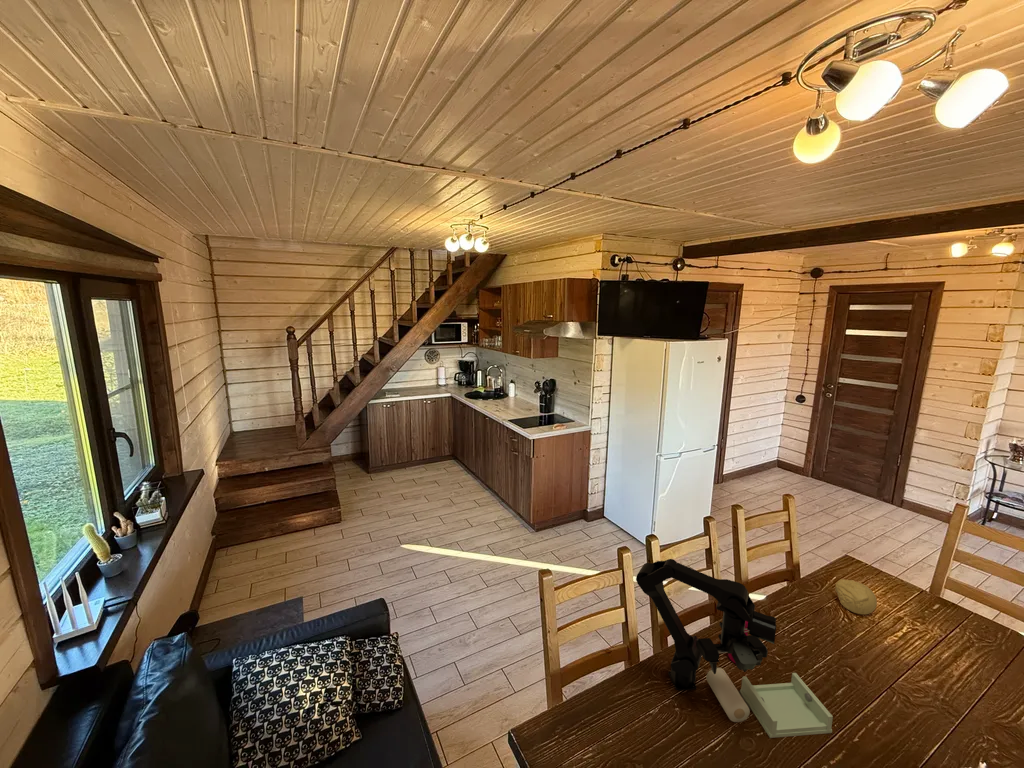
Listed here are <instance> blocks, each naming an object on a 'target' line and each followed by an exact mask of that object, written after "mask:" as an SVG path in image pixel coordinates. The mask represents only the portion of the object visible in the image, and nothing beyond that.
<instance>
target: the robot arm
mask: <svg viewBox="0 0 1024 768" xmlns="http://www.w3.org/2000/svg"><path fill="white" fill-rule="evenodd" d="M671 578H672V579H674V580H676V581H679V582H680V583H682V584H685V585H687V586H690V587H691V588H694V589H696V590H698V591H701V592H703V593H705V594H707V595H710V596H711V597H713V598H714V599H715V601H717V604H716V607H715V609H716V610H718V611H719V612H722V615H723V616H722V622H721V621H720V622H719V627H720V628H721V634H720V633H719V634H718V639H719V640H720V643H714V642H713V640H712V639H711V637H705V638H699V637H698V636H697V635H691V634H690V633H688V631H687V630H686V628H685V627H684V624H683V623H682V621H681V619H680V617H679V615H678V613H677V611H676V610H675V608H674V606H673V604H672V602H671V600H670V598H669V596H668V595H667V593H666V591H665V585H664V582H665V581H666V580H668V579H671ZM635 581H636V583H637V585H638V586H639V589H641V591H642V592H643V593H644V594H645V595H647V596H648V597H649V598H651V600H652V602H653V603H654V606H655V608H656V609H657V612H658V613H659V615H660V618H661V619H662V621H663V623H664V624H665V627H666V629H667V630H668V631H669V634H670V636H671V637H672V639H673V643H674V648H675V649H674V651H675V652H674V654H673V657H672V660H671V662H670V671H668V674H667V675H668V676H669V678H670V680H671V682H672V684H673V686H674V688H675V690H676V691H690V690H697V685H696V679H697V670H698V668H699V666H700V662H701V660H702V657H703V659H704V661H706V662H708V663H709V666H710V670H712V671H713V673H714V674H716V669H717V668H718V665H717V664H718V663H720V660H719V659H720V654H726V653H727V655H728V654H731V655H732V657H733V659H734V661H735V663H736V664H735V663H734V664H735V666H736V668H737V669H738V670H740V671H743V672H744V673H747V671H748V670H753V669H754V668H755V667H756V666H761V663H762V661H763V658H764V659H765V658H767V656H768V653H769V652H768V648H767V646H766V645H765V644H764V643H763V641H766V642H768V643H771V644H773V645H775V642H776V641H775V640H776V631H777V617H774V616H771V615H768V614H764V613H762V612H759V611H755V610H756V604H755V603H754V601H753V600H752V598H751V597H750V596H749V595H750V594H749V591H748V589H747V588H746V586H745V585H744V584H742V583H741V582H737V581H734V580H730V579H726V578H723V579H722V578H721V579H719V578H715V577H713V576H710V575H707V574H706V573H703V572H701V571H698V570H696V569H694V568H691V567H689V566H688V565H684V564H682V563H679V562H677V561H676V560H675V559H674V558H668V559H666V560H657V561H655V562H646V563H644V564H643V565H642V566H641V568H640V569H639V571H638V573H637V574H636V577H635ZM745 621H747V622H748V626H747V630H749V632H748V636H746V634H745V633H744V631H745ZM762 640H763V641H762Z"/></svg>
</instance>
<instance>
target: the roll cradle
mask: <svg viewBox="0 0 1024 768" xmlns="http://www.w3.org/2000/svg"><path fill="white" fill-rule="evenodd" d="M790 680H791V681H790V682H784V683H781V682H780V683H771V684H770V683H769V684H757V685H755V684H754V685H753V684H752V683H751V681H750V680H749V679H748V677H747V676H746V675H745V676H742V677H741V688H740V689H739V694H740V695H741V697H742V698H743V700H744V701H745V703H746V704H747V706H748V707H749V709H750V711H752V713H753V714H754V716H755V717H756V719H757V721H758V722H759V723H760V725H761V726H762V728H763V729H764V731H765V733H766V734H767V735H768V738H769V739H772V738H775V739H776V738H785V737H786V738H787V737H797V736H799V737H800V736H810V735H821V734H822V735H823V734H832V733H833V729H832V725H833V719H834V716H833V715H832V713H830V711H829V710H828V708H826V706H824V704H823V702H821V700H819V698H818V697H817V696H816V694H814V692H813V691H812V690H811V689H810V688H809V687H808V686H807V684H806V683H805V682H804V681H803V679H802V678H801V677H800V676H799V675H798V673H797V672H792V673H791V679H790Z"/></svg>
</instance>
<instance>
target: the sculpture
mask: <svg viewBox="0 0 1024 768" xmlns="http://www.w3.org/2000/svg"><path fill="white" fill-rule="evenodd" d="M834 589H835V592H836V594H837V597H838V599H839V602H840V604H841V605H842V606H843V608H845V609H847V610H848V611H849V612H852V613H854V614H858V615H870V614H871V613H872V612H874V611H875V609H876V608H877V605H878V601H877V597H876V594H875V593H874V592H873V590H872V589H871V588H870V587H868V586H867V585H865V584H864V583H861V582H859V581H856V580H853V579H844V578H841V579H839V580H838V581H837V582H836V583H835V588H834Z"/></svg>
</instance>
